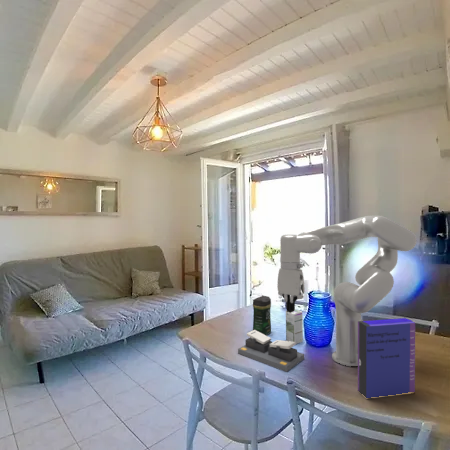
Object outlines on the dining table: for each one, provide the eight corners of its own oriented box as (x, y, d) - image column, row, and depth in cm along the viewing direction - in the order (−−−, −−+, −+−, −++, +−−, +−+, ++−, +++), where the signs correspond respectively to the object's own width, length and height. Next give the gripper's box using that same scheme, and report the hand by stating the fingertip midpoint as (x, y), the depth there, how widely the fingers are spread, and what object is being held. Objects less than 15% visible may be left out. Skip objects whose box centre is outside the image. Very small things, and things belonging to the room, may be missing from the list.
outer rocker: (270, 340, 133) (271, 338, 133) (263, 344, 129) (263, 342, 129) (254, 331, 139) (254, 329, 139) (246, 335, 135) (246, 333, 135)
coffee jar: (264, 338, 149) (264, 300, 148) (250, 334, 154) (250, 297, 153) (273, 332, 157) (273, 295, 156) (260, 328, 161) (259, 293, 161)
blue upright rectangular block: (404, 385, 107) (404, 317, 106) (414, 393, 102) (415, 322, 101) (357, 391, 104) (357, 320, 103) (366, 399, 99) (366, 325, 98)
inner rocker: (295, 344, 125) (295, 341, 125) (288, 349, 121) (288, 346, 121) (277, 342, 131) (276, 339, 131) (269, 346, 127) (269, 344, 127)
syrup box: (303, 341, 144) (303, 311, 144) (294, 344, 141) (293, 313, 141) (294, 337, 149) (294, 308, 149) (285, 340, 146) (285, 310, 146)
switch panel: (304, 358, 127) (304, 342, 127) (286, 371, 117) (286, 354, 117) (257, 343, 144) (257, 328, 143) (238, 353, 133) (237, 337, 133)
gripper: (312, 266, 120) (312, 313, 121) (279, 262, 130) (279, 305, 131) (302, 269, 115) (303, 318, 115) (269, 265, 125) (269, 310, 125)
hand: (290, 311), depth 123 cm, fingers closed
